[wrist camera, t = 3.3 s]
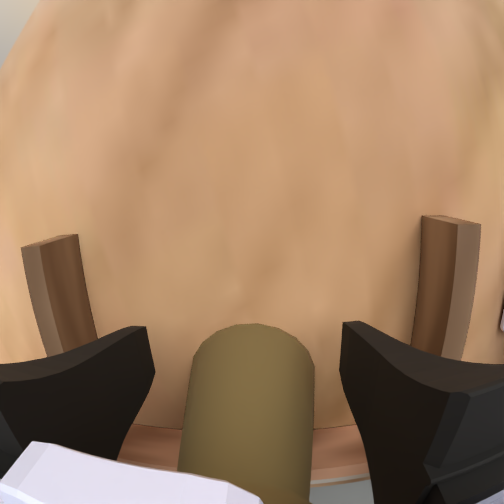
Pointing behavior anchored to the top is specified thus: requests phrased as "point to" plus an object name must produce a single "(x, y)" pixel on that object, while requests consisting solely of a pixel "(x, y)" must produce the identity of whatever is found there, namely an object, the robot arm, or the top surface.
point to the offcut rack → (324, 440)
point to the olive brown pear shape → (251, 413)
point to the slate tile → (343, 493)
